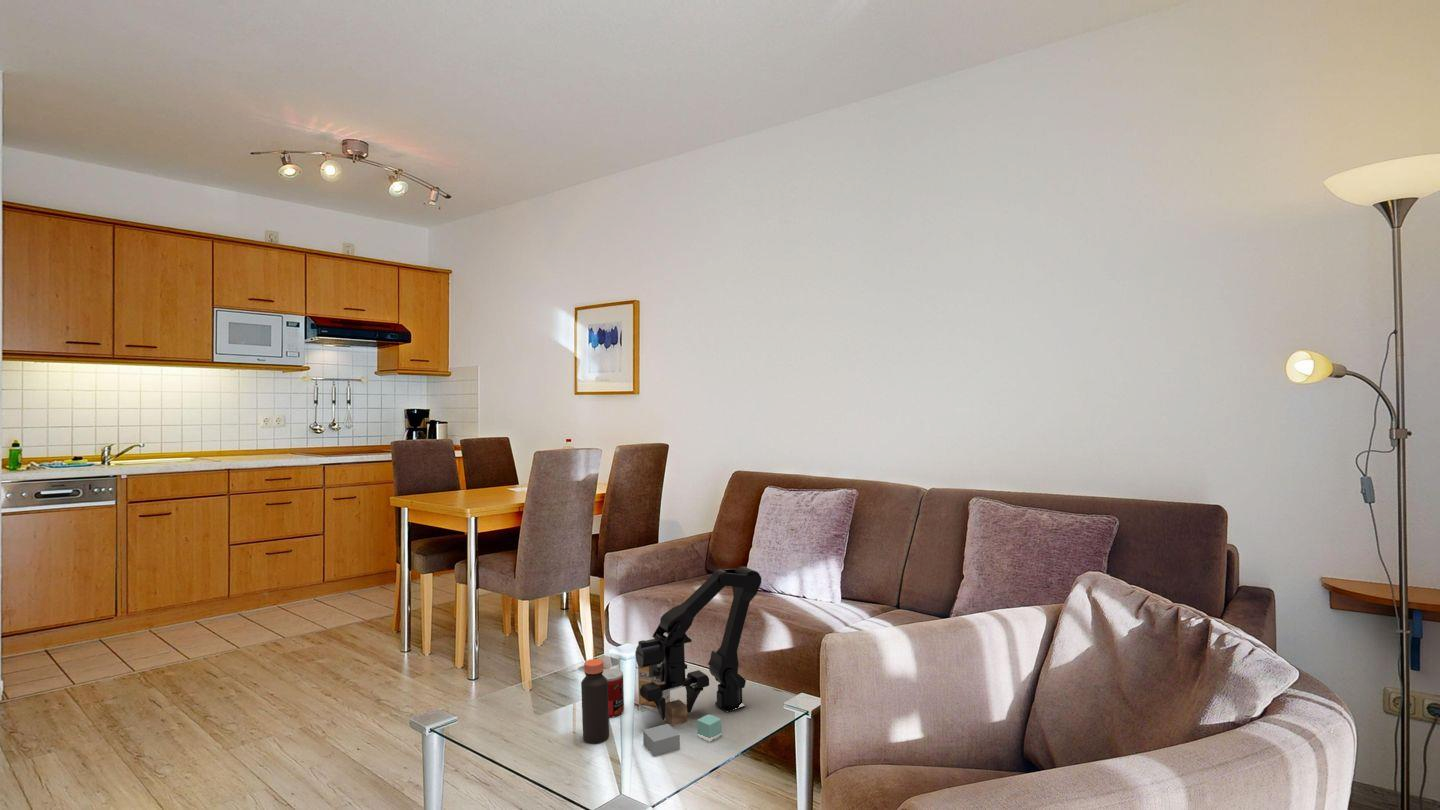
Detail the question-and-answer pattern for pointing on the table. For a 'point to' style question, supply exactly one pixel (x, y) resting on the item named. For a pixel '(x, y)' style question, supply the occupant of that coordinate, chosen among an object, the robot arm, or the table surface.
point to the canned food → (614, 691)
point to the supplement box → (645, 678)
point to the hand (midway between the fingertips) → (675, 716)
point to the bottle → (595, 703)
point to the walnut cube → (675, 712)
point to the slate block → (661, 740)
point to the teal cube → (709, 726)
